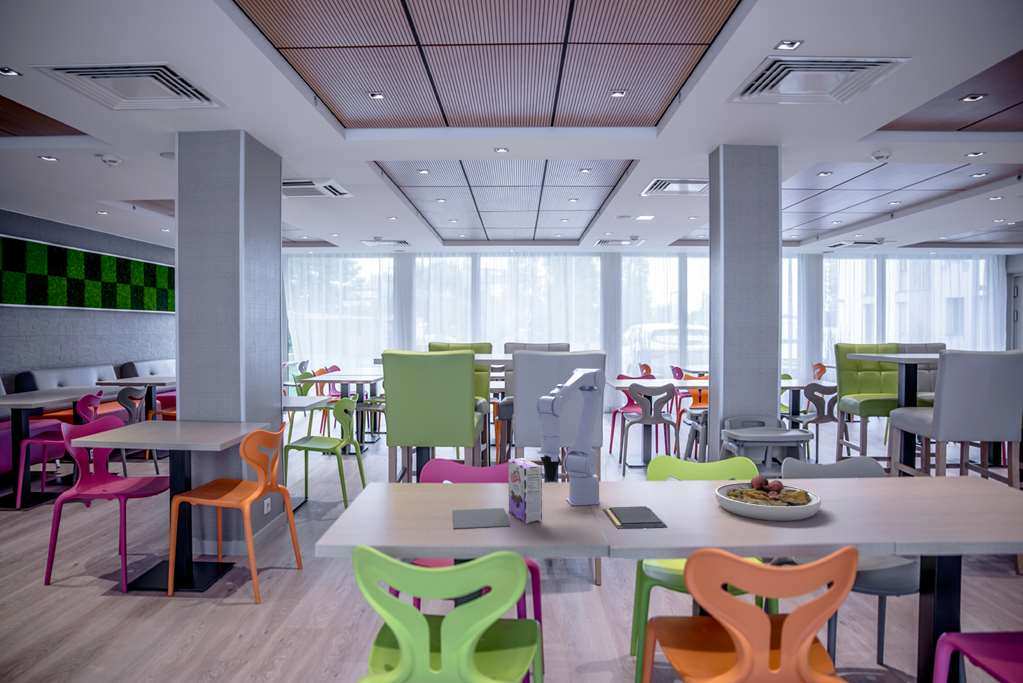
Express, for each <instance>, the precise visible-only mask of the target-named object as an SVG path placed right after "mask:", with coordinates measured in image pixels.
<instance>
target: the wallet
mask: <svg viewBox="0 0 1023 683" xmlns="http://www.w3.org/2000/svg"><path fill="white" fill-rule="evenodd" d="M602 511H603V512H604V513H605V515H606V516H607V518H609V520H610V521H611V523H612V525H613V526H614V527H615V528H617V530H639V529H641V530H642V529H644V528H646V529H665V528H666V529H667V528H668V525H667V524H665V522H664V521H663V520H662V519H660V517H659V516H657V515H656V514H655V513H654V511H653V510H652V509H650V508H649V507H647V505H646V506H643V505H642V506H641V505H640V506H612V507H611V506H610V507H608V508H603V509H602Z"/></svg>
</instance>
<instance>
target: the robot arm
mask: <svg viewBox="0 0 1023 683" xmlns="http://www.w3.org/2000/svg"><path fill="white" fill-rule="evenodd" d="M571 373H572V374H571V376H570V378H569V379H568V381H567V382H565V384H563V383H561V384H557V385H556V387H555V388H554V389H553V390H551V391H550V392H549V394H547V395H543V396H541V397H540V398H539V399H538V400H537V404H536V412H537V414H538V420H539V421H540V449H539V450H536V453H537V454H539V455H544V456H540V460H541V462H542V466H543V468H544V474H545V479H546V482H555V481H556V476H557V471H558V467H559V465H560V463H561V460H562V459H561V458H560V456H559V455H560V454H561V452H562V451H561V449H560V448H561V443H560V442H561V441H560V439H561V438H560V437H561V436H560V434H561V432H560V431H561V430H560V426H561V425H560V415H562V413H563V411H564V408H565V406H566V404H567V403H569V402H570V400H572V398H573V396H574V395H573V394H574V392H576V391H577V392H578V394H579V395H581V396H583V404H582V409H581V413H580V419H579V422H578V430H577V434H576V439H575V443H574V444H573V445H571V446H569V447H568V448H567V451H566V454H565V456H564V458H563V461H562V462H563V463H562V464H563V465H562V466H563V469H564V470H565V472H566V473H567V474H566V475H568V478H569V479H568V482H569V485H568V488H569V490H568V491H569V492H568V493H569V495H568V496H569V497H566V501H567V502H568V504H569V505H571V506H586V505H587V506H588V505H589V506H591V505H600V480H599V476H598V475H597V474H595V473H596V471H597V469H598V460H597V459H598V453H597V451H595V449H594V448H593V447H592V443H593V442H592V441H593V437H594V432H595V427H596V422H597V417H598V410H599V405H600V401H601V397H602V396H603V395H604V393H605V387H606V383H607V377H606V373H605V371H604V370H603V369H602V368H579V367H577V368H575V369H574V370H573V371H572V372H571Z"/></svg>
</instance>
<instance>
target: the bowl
mask: <svg viewBox="0 0 1023 683" xmlns="http://www.w3.org/2000/svg"><path fill="white" fill-rule="evenodd" d="M714 492H715V493H714V494H715V495H714V496H715V499H716V501H717V502H718V504H719V505H720V506H721V507H722V508H723V509H725V511H726V510H727V511H728V512H730V513H732V514H736V515H738V516H742V517H746V518H751V519H755V520H763V521H776V522H777V521H779V522H786V521H787V522H790V521H792V522H793V521H800V520H805V519H808V518H810V517H812V516H814V515H816V513H818V511H819V510H820V507H821V505H822V504H821V502H822V499H821V497H820V496H819V495H818V494H817V493H815V492H813V491H810V490H807V489H804V488H800V487H796V486H791V485H785V484H783V482H782V481H781V480H780V479H779V480H778V479H775V480H773V481H771V482H769V479H767V477H765V476H763V475H757V476H755V477H752V478H751V480H750V482H733V483H726V484H723V485H719V486H718V487H716V488H715V490H714Z"/></svg>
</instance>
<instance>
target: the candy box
mask: <svg viewBox="0 0 1023 683" xmlns="http://www.w3.org/2000/svg"><path fill="white" fill-rule="evenodd" d="M507 462H508V463H507V465H508V466H507V470H508V476H507V477H508V512H509V513H511V515H513V516H515V518H517V519H518V520H520V521H521V522H522V523H524V524H533V523H535V524H536V523H542V522H543V465H539V464H537V463H535V462H533V461H532V460H529V459H527V458H526V457H518V458H511V459H508V461H507Z"/></svg>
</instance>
